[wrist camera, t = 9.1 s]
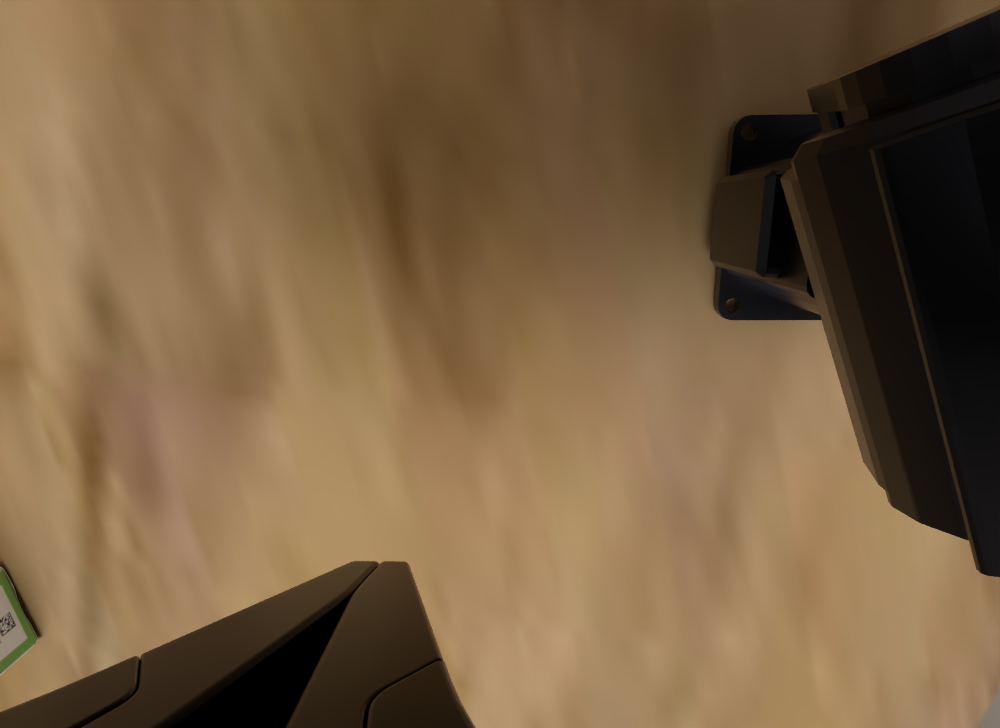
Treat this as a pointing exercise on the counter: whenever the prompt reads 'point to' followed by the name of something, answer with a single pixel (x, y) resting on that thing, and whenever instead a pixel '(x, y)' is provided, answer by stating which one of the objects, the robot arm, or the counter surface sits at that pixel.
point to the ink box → (13, 626)
